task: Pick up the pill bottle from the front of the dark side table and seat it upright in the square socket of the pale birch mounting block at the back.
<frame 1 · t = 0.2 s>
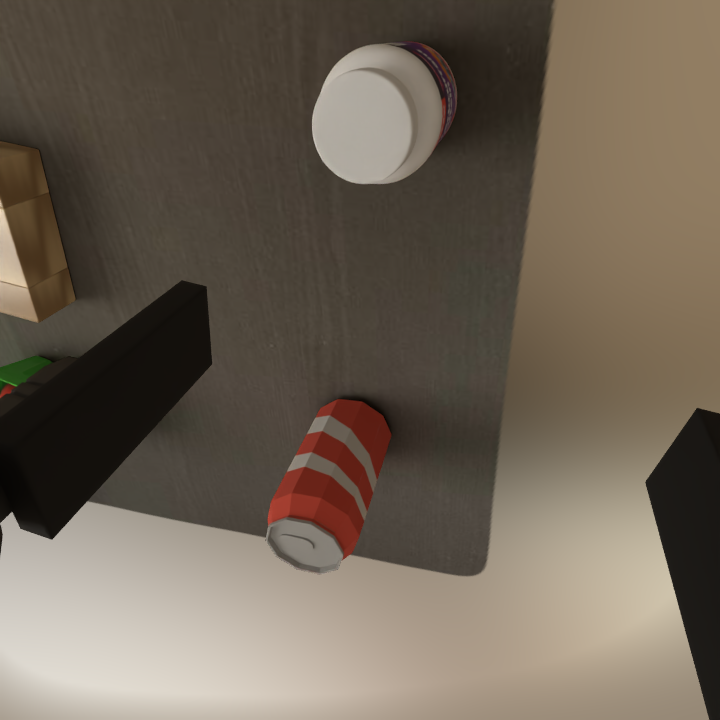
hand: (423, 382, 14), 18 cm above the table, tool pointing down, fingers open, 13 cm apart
pill bottle: (408, 99, 26), on the table
fruit basket: (84, 392, 48), on the table
beverage can: (356, 422, 41), on the table
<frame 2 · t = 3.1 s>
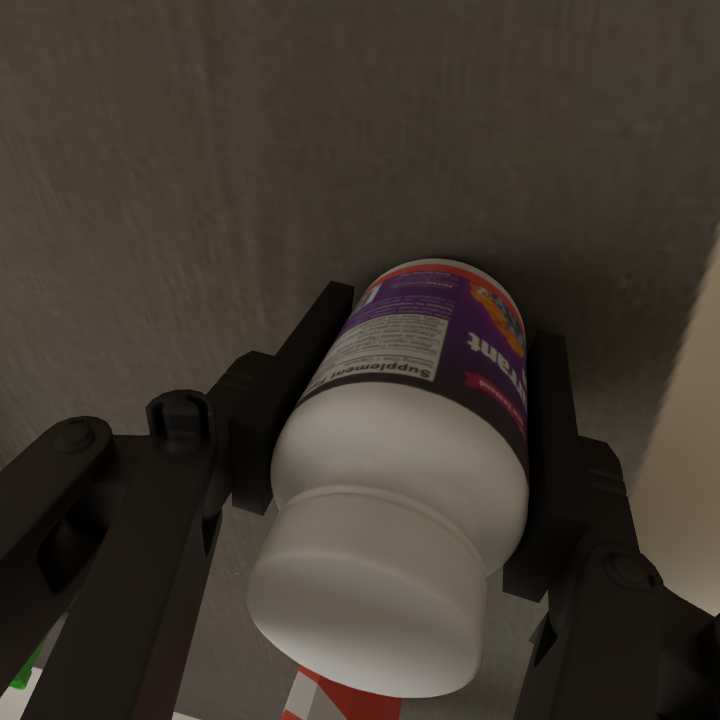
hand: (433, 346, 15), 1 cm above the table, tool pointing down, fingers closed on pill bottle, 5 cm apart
pill bottle: (438, 330, 16), on the table, touching gripper
fruit basket: (6, 575, 37), on the table
beverage can: (354, 660, 30), on the table
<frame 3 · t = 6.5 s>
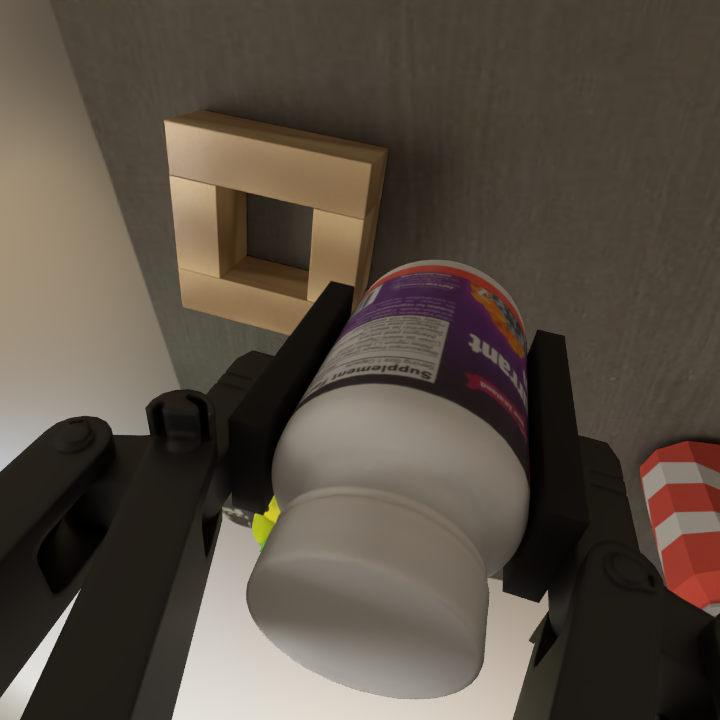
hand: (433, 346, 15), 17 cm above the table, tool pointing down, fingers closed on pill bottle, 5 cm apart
pill bottle: (438, 330, 16), point 16 cm above the table, touching gripper
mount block: (288, 224, 33), on the table
fruit basket: (323, 421, 43), on the table
beverage can: (686, 465, 35), on the table
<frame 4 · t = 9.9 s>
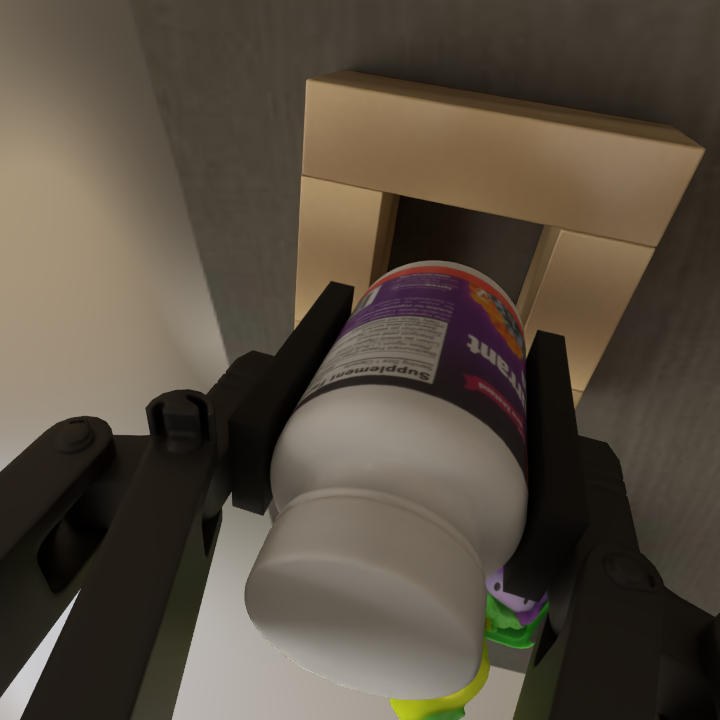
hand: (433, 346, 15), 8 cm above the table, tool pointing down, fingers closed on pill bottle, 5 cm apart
pill bottle: (437, 331, 16), point 7 cm above the table, touching gripper
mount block: (460, 249, 21), on the table
fruit basket: (459, 514, 31), on the table
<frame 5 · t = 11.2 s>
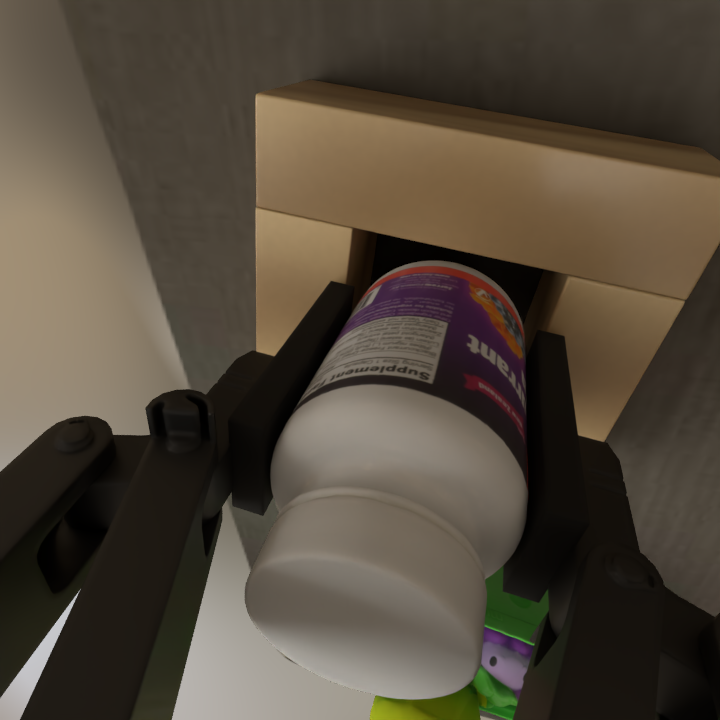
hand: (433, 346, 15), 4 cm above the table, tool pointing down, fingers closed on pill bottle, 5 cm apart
pill bottle: (437, 331, 16), point 3 cm above the table, touching gripper
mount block: (449, 286, 18), on the table
fruit basket: (451, 566, 28), on the table
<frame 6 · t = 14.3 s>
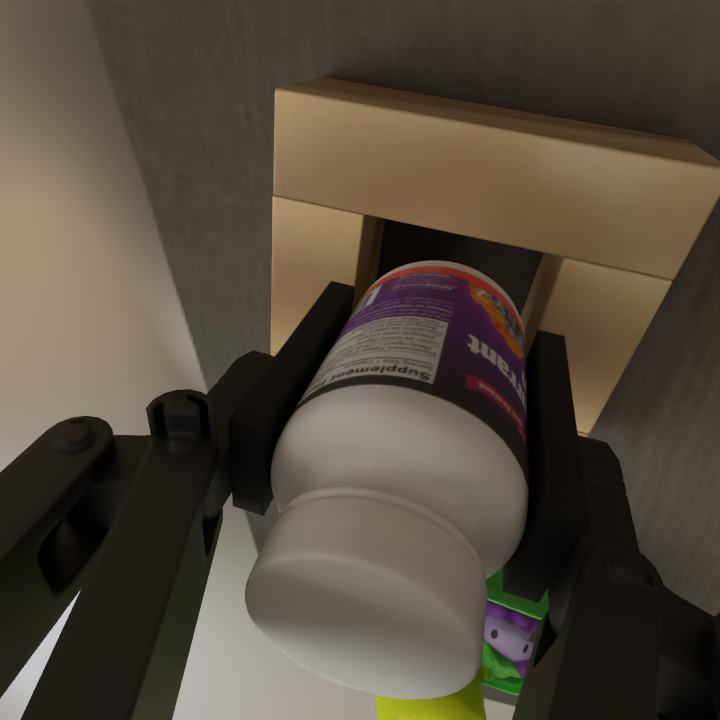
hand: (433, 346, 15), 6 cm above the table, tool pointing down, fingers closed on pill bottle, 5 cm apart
pill bottle: (438, 331, 16), point 5 cm above the table, touching gripper
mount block: (453, 273, 19), on the table
fruit basket: (454, 547, 29), on the table
when the fingers open (5 cm above the table, at t = 16.6 s): pill bottle drops 5 cm, resting in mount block.
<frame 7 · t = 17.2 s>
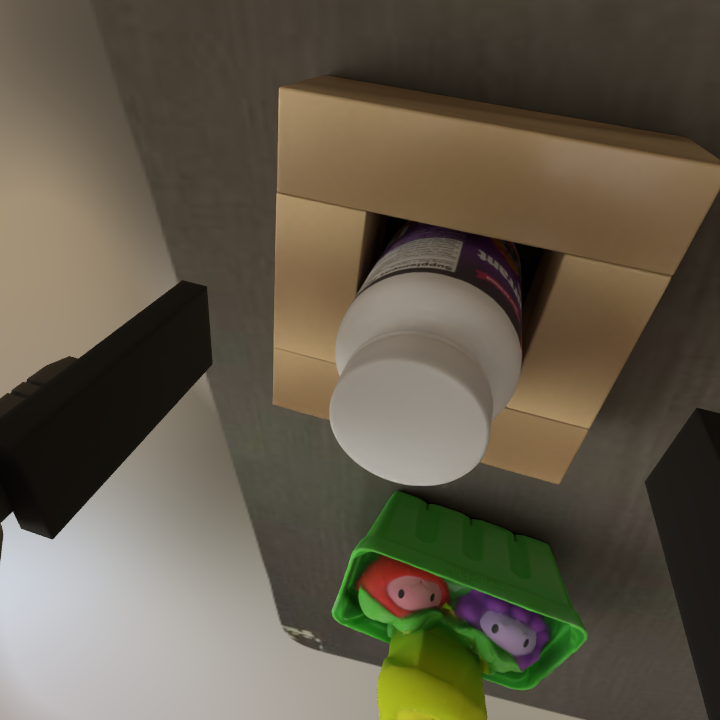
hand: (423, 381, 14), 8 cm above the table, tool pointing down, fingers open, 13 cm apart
pill bottle: (451, 267, 20), resting in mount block
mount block: (454, 270, 20), on the table
fruit basket: (455, 543, 29), on the table
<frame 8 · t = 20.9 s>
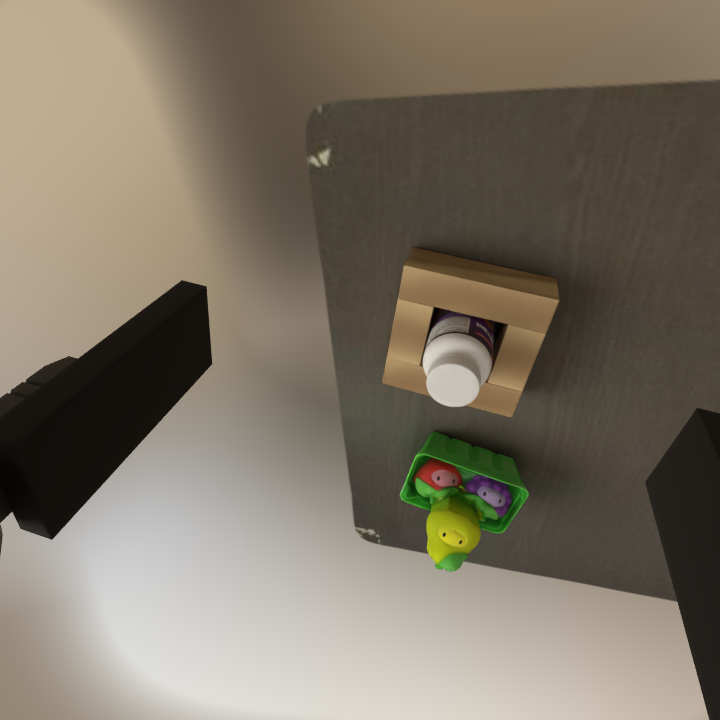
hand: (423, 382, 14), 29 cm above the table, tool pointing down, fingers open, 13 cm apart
pill bottle: (464, 322, 44), resting in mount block
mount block: (465, 323, 44), on the table
fruit basket: (464, 462, 54), on the table
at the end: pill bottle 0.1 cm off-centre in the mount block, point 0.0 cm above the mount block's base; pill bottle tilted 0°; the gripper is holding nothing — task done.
